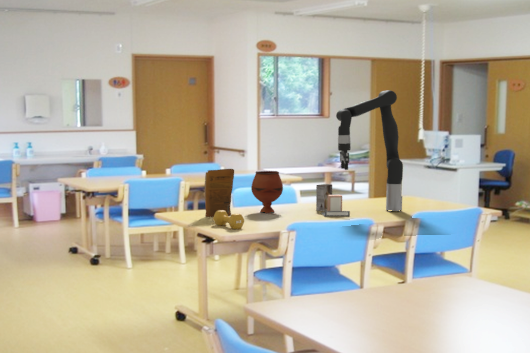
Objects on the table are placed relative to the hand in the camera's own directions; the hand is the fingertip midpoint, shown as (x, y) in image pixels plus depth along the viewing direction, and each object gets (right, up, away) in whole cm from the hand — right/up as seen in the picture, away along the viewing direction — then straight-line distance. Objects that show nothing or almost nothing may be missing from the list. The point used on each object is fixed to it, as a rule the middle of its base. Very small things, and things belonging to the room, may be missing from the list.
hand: (344, 169), depth 451 cm
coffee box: (-11, -26, +14) cm, 31 cm away
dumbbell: (-68, -32, -53) cm, 92 cm away
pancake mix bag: (-76, -28, -16) cm, 82 cm away
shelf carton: (-7, -27, -4) cm, 28 cm away
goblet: (-47, -27, +2) cm, 54 cm away
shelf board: (-6, -28, -6) cm, 29 cm away
